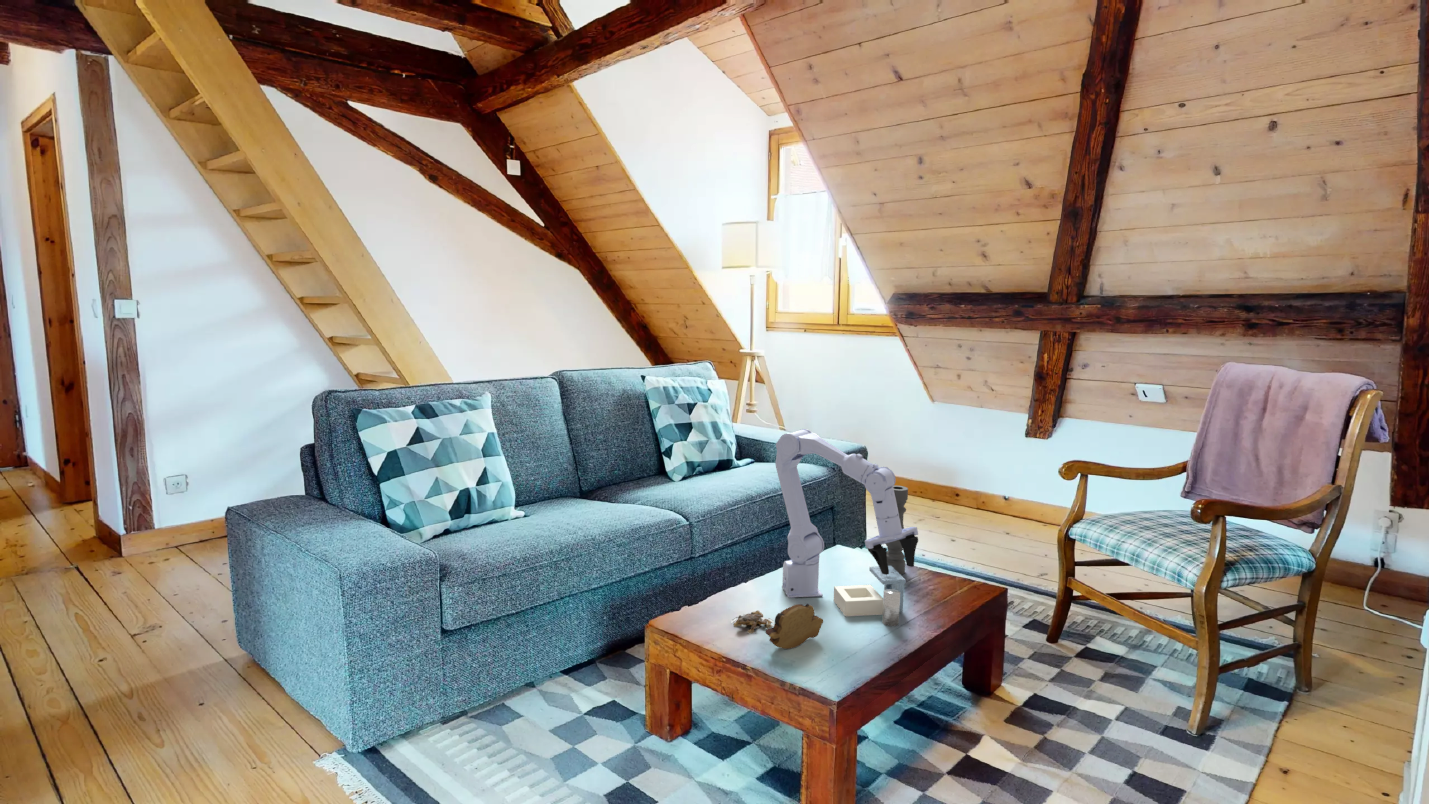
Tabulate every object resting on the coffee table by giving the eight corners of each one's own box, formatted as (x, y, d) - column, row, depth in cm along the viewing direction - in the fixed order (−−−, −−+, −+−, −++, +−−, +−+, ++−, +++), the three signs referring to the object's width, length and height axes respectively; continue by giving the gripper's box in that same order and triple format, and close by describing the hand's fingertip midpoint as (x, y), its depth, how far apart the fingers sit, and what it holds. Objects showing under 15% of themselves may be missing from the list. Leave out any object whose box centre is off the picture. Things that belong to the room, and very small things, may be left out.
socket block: (845, 616, 203) (845, 601, 203) (833, 600, 213) (834, 586, 213) (883, 614, 205) (883, 599, 204) (869, 599, 215) (870, 584, 214)
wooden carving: (809, 632, 194) (811, 592, 193) (824, 638, 191) (825, 598, 189) (761, 652, 183) (762, 610, 182) (775, 659, 180) (776, 617, 178)
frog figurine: (755, 642, 190) (756, 626, 189) (719, 626, 198) (719, 611, 197) (786, 627, 198) (787, 612, 197) (750, 612, 206) (750, 598, 205)
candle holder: (905, 576, 232) (909, 491, 228) (883, 574, 233) (886, 490, 229) (904, 568, 238) (908, 486, 234) (883, 566, 239) (886, 484, 235)
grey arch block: (881, 614, 205) (882, 580, 203) (868, 599, 215) (869, 566, 213) (903, 613, 206) (905, 579, 204) (889, 598, 215) (891, 565, 214)
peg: (885, 626, 198) (887, 595, 197) (879, 619, 202) (881, 589, 200) (901, 625, 198) (902, 594, 197) (895, 619, 202) (896, 588, 201)
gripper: (871, 524, 195) (883, 579, 195) (920, 510, 201) (931, 564, 201) (856, 522, 202) (867, 576, 202) (904, 509, 207) (914, 561, 207)
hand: (898, 569), depth 202 cm, fingers open, 7 cm apart
